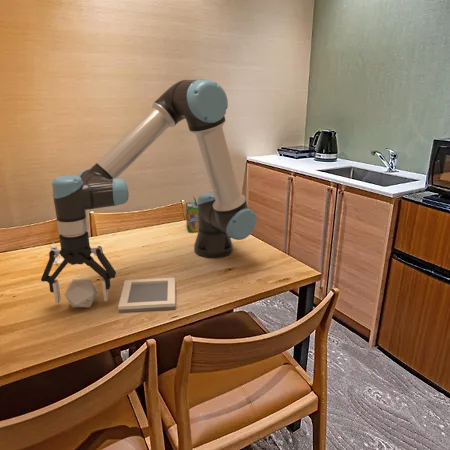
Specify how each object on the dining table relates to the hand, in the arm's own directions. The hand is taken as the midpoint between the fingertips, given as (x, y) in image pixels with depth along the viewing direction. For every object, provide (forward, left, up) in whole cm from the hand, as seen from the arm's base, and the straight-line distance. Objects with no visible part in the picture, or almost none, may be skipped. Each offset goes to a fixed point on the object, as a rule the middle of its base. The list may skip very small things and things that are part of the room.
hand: (82, 300), depth 115 cm
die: (0, 0, -2) cm, 2 cm away
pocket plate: (-19, -3, -2) cm, 19 cm away
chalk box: (-37, -61, -2) cm, 71 cm away
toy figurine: (+16, -31, -2) cm, 35 cm away
